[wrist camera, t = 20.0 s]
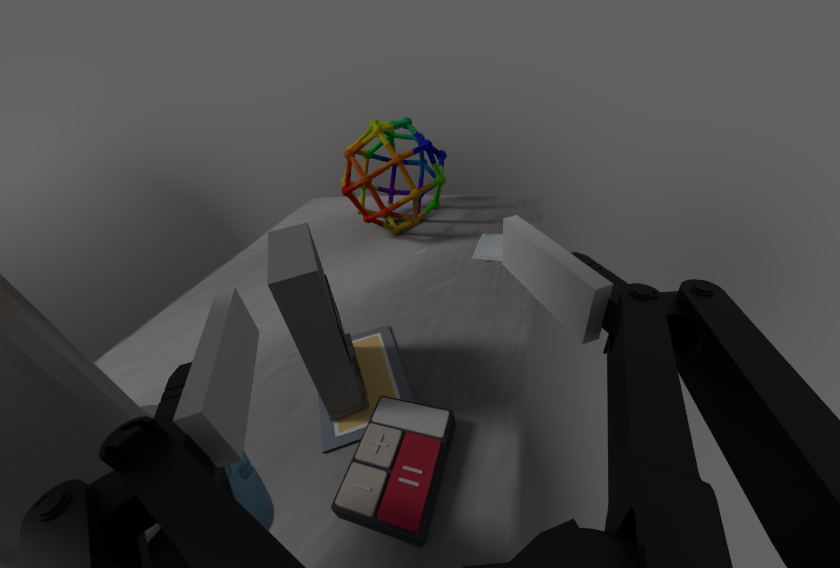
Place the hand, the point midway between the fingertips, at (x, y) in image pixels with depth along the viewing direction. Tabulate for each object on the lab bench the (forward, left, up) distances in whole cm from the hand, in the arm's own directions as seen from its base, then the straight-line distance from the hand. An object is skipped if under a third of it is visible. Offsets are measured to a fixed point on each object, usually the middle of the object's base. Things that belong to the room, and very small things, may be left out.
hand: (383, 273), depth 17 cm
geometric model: (+16, +77, -35) cm, 86 cm away
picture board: (-5, +25, -35) cm, 43 cm away
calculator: (-2, +9, -36) cm, 37 cm away
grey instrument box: (-8, +25, -35) cm, 44 cm away
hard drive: (+33, +52, -36) cm, 71 cm away
